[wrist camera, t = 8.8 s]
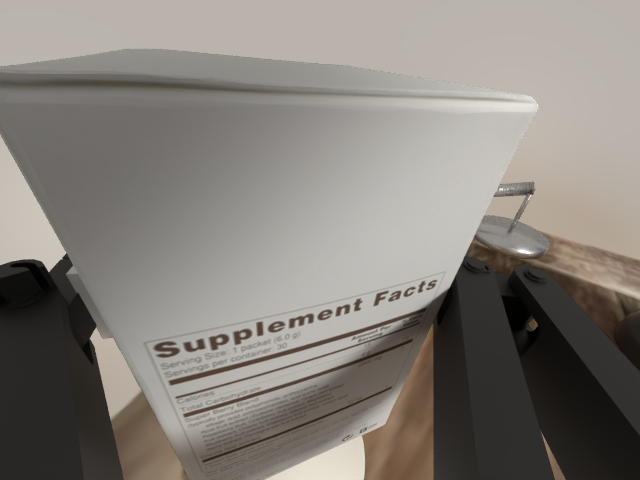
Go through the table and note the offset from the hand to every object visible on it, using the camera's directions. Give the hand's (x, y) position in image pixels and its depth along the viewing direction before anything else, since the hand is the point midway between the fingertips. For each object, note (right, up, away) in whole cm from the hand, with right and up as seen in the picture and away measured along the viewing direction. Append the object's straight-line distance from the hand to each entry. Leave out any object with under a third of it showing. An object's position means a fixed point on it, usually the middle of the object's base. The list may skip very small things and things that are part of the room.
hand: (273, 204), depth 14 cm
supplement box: (0, -10, +1) cm, 10 cm away
